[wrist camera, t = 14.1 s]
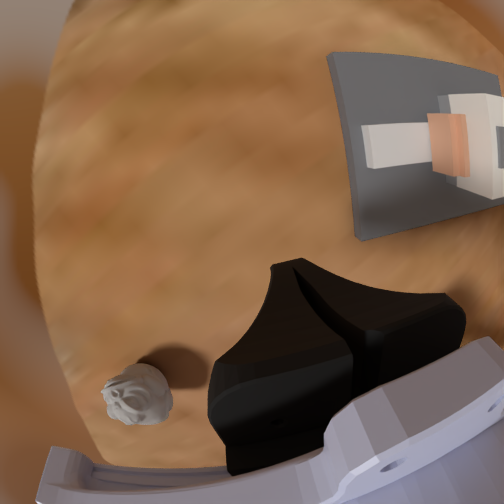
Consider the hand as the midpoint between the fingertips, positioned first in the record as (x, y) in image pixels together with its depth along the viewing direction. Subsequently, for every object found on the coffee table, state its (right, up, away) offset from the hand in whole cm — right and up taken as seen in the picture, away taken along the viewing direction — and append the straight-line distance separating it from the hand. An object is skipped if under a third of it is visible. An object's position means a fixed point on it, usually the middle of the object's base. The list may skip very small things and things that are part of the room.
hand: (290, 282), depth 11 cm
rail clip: (+12, +9, +5) cm, 16 cm away
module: (+16, +11, +6) cm, 20 cm away
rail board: (+15, +11, +7) cm, 20 cm away
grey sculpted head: (-12, -10, +14) cm, 21 cm away
